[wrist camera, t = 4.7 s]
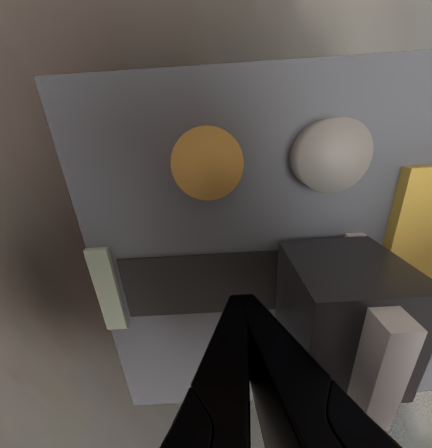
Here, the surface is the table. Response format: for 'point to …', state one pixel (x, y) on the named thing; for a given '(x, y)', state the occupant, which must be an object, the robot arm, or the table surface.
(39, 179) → the table surface
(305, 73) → the panel
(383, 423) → the breaker
